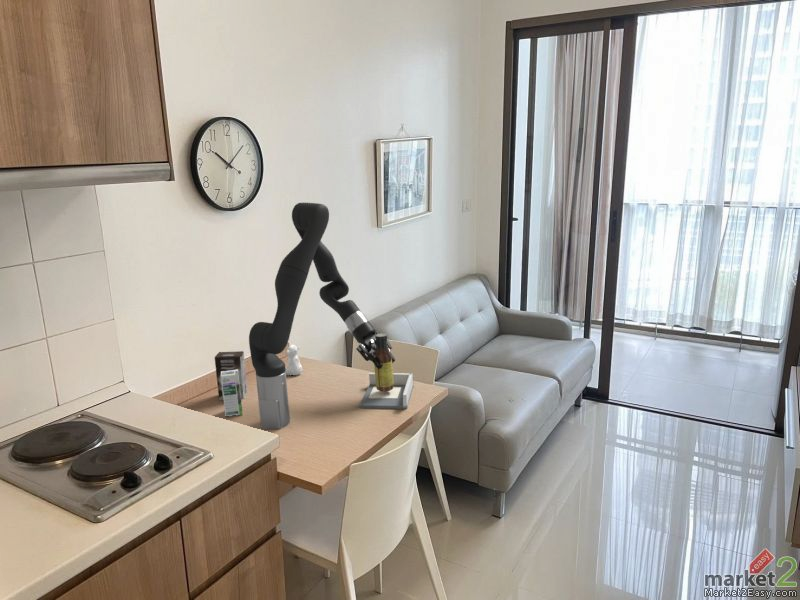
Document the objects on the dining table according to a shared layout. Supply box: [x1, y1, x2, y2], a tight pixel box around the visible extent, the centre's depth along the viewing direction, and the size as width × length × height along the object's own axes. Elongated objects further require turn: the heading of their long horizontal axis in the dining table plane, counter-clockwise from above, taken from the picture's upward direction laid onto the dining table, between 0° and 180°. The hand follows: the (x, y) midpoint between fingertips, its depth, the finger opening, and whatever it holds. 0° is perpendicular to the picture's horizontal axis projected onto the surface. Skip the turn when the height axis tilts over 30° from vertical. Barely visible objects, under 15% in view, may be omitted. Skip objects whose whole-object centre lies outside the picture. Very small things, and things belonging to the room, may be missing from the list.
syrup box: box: [221, 369, 244, 417], centre depth 198 cm, size 6×6×14 cm
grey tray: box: [359, 372, 414, 410], centre depth 208 cm, size 20×16×5 cm
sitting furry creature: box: [285, 344, 303, 376], centre depth 234 cm, size 10×9×12 cm
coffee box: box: [214, 350, 248, 401], centre depth 212 cm, size 9×6×16 cm
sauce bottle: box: [373, 333, 394, 392], centre depth 207 cm, size 6×6×20 cm
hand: (387, 364), depth 206 cm, fingers closed on sauce bottle, 6 cm apart
